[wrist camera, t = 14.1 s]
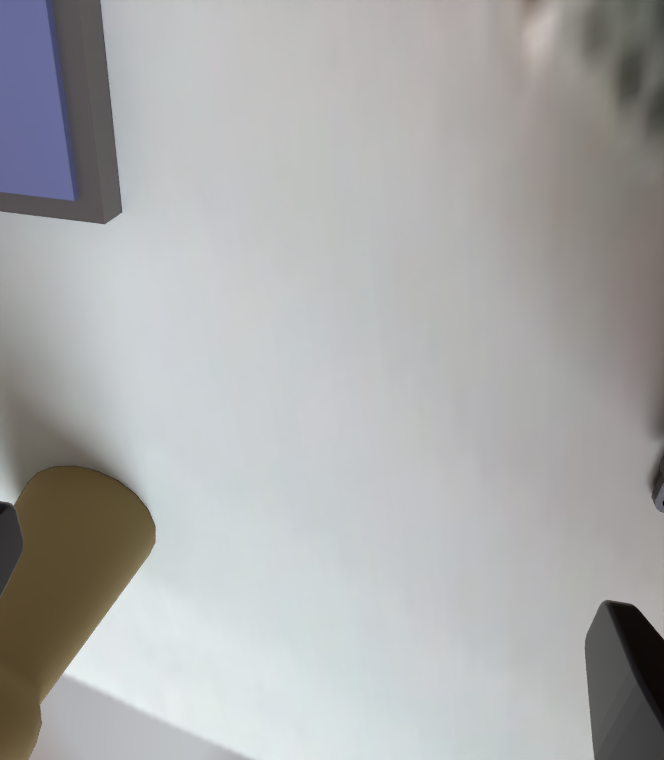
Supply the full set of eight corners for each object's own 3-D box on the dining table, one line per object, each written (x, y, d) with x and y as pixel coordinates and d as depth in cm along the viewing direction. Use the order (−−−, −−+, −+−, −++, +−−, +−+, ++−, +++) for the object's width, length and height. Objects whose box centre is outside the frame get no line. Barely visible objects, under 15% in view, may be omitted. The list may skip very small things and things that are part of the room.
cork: (-4, 478, 27) (-236, 731, 18) (114, 454, 25) (-73, 721, 16) (67, 575, 30) (-102, 839, 20) (178, 560, 28) (50, 840, 19)
